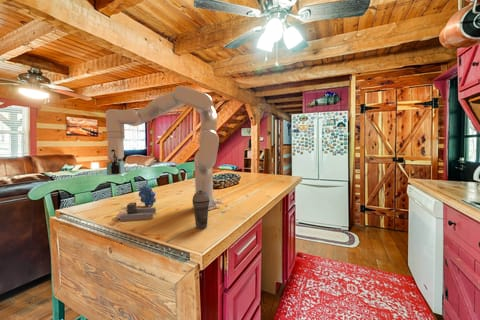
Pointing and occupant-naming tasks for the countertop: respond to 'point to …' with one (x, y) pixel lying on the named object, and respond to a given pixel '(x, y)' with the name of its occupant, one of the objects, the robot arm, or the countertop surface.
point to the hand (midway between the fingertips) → (117, 172)
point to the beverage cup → (201, 208)
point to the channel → (139, 214)
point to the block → (121, 168)
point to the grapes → (147, 195)
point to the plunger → (128, 210)
